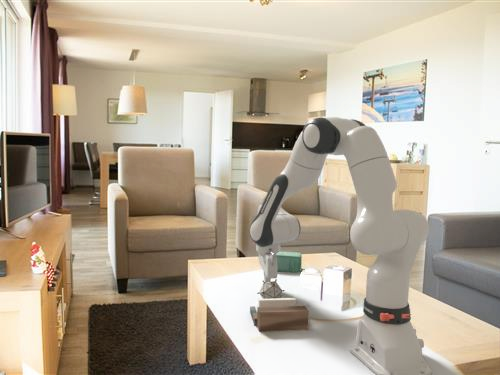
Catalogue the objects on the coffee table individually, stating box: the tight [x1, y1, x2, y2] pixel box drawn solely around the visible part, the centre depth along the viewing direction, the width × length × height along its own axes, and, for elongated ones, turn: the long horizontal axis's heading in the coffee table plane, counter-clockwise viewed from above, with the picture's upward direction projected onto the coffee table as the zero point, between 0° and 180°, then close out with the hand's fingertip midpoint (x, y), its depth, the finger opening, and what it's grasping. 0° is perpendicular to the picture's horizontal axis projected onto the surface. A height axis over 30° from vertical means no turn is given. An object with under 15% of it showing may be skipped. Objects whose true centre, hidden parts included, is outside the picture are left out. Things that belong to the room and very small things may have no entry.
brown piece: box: [249, 304, 310, 333], centre depth 146 cm, size 15×17×6 cm
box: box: [276, 250, 302, 274], centre depth 201 cm, size 7×14×8 cm, turn 83°
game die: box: [257, 278, 285, 299], centre depth 161 cm, size 9×8×10 cm
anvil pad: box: [258, 297, 297, 307], centre depth 150 cm, size 2×12×5 cm, turn 98°
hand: (267, 282), depth 169 cm, fingers closed
